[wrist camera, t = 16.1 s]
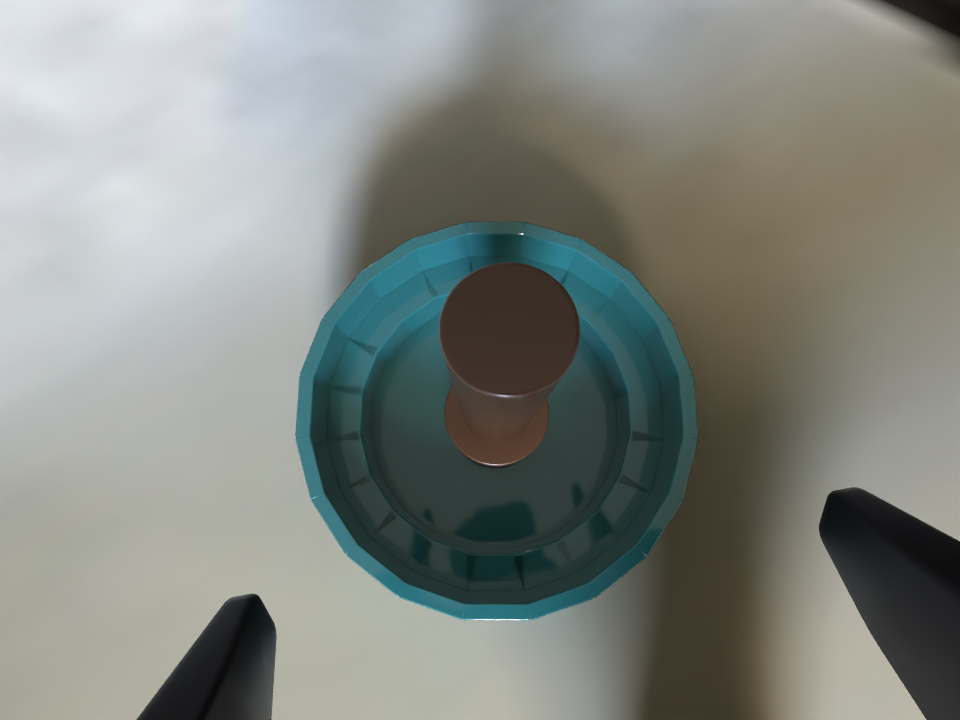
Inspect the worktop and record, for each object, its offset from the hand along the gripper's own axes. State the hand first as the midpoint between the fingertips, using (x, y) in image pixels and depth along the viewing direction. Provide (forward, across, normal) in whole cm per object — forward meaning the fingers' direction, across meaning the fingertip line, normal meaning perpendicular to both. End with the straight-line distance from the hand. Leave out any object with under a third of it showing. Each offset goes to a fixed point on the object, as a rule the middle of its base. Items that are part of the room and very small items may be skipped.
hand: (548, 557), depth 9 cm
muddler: (+12, 0, +7) cm, 14 cm away
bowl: (+12, 0, +7) cm, 14 cm away
